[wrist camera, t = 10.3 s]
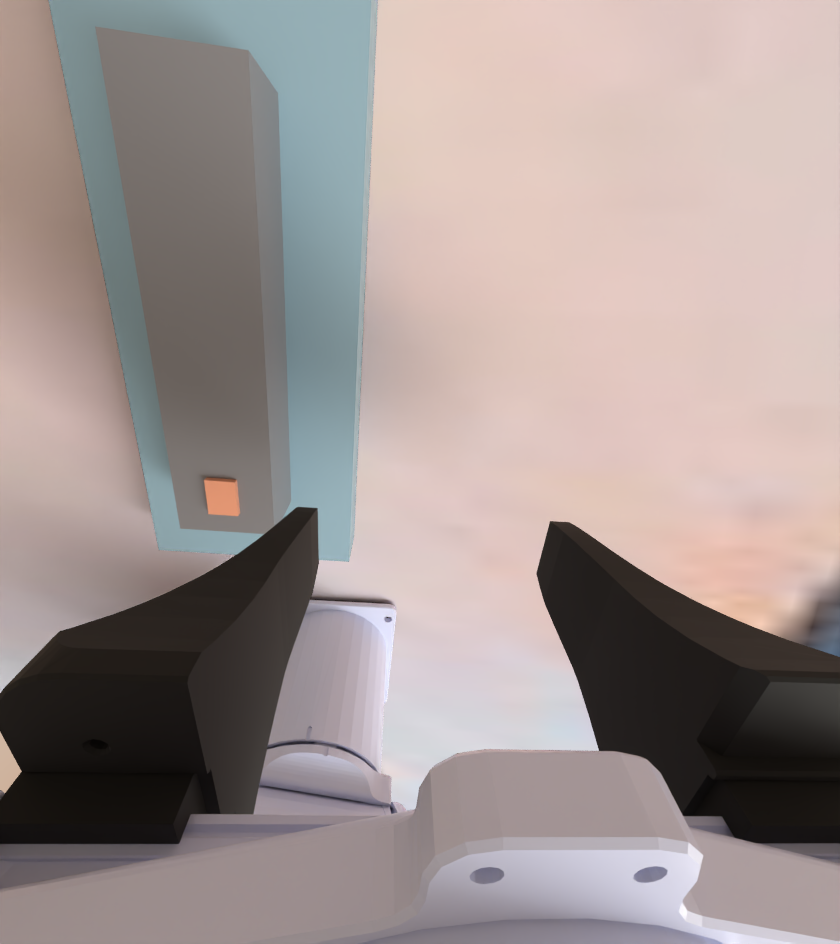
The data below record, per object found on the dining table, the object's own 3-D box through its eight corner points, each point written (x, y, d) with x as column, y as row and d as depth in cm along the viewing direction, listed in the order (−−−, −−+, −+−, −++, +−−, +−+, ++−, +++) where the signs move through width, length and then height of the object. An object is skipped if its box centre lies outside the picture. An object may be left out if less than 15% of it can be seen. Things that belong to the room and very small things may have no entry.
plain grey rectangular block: (300, 483, 23) (273, 537, 18) (224, 477, 22) (177, 531, 18) (292, 113, 16) (245, 45, 11) (184, 98, 16) (88, 21, 11)
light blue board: (354, 535, 25) (349, 561, 23) (181, 524, 24) (158, 549, 22) (378, -27, 15) (374, -82, 12) (81, -79, 14) (19, -147, 12)
